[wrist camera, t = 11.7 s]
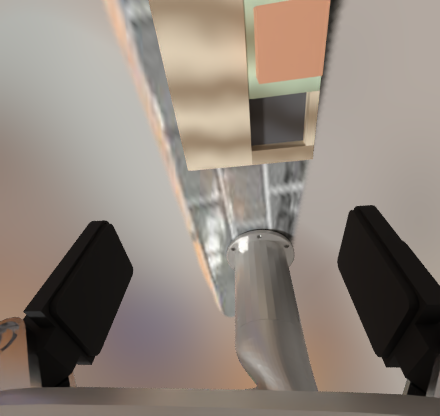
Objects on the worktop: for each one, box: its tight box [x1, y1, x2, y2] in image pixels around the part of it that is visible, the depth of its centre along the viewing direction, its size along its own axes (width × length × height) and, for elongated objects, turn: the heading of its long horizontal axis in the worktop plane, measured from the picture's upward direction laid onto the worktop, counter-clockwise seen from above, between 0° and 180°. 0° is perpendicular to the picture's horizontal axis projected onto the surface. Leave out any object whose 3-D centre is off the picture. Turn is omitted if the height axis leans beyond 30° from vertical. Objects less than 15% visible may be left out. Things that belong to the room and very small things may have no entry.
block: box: [253, 0, 330, 84], centre depth 24 cm, size 6×6×4 cm
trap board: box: [149, 0, 321, 171], centre depth 27 cm, size 27×17×2 cm, turn 8°
